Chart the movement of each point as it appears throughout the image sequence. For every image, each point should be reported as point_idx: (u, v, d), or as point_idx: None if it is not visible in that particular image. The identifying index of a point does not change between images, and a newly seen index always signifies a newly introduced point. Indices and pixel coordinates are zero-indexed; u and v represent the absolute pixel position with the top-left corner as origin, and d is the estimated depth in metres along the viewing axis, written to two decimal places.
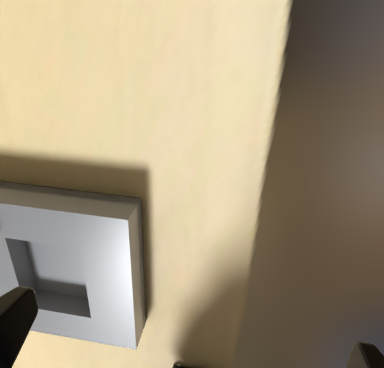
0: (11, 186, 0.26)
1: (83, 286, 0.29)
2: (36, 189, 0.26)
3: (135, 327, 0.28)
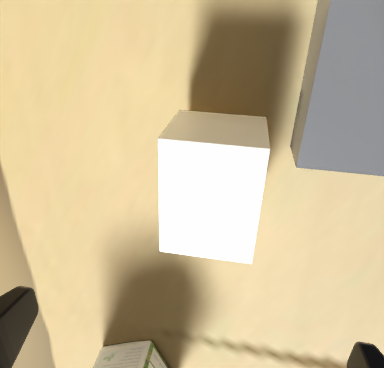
0: None
1: None
2: None
3: None
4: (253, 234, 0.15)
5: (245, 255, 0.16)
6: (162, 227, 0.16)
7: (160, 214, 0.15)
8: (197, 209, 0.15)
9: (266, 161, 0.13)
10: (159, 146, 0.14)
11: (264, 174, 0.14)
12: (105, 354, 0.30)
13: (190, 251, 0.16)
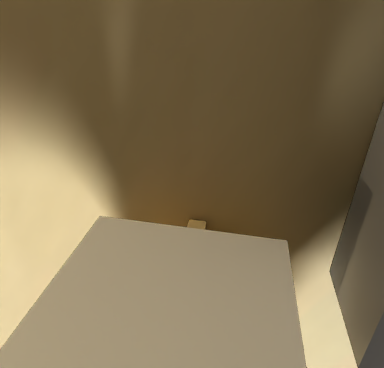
0: None
1: None
2: None
3: None
4: None
5: None
6: None
7: None
8: None
9: None
10: None
11: None
12: None
13: None
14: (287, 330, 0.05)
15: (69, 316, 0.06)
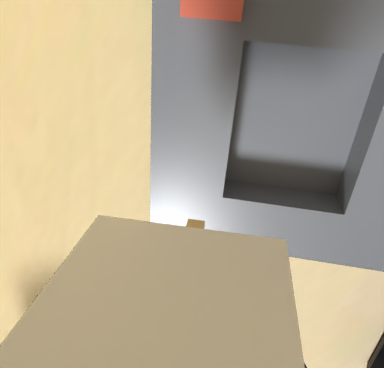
0: None
1: (314, 169, 0.18)
2: None
3: None
4: None
5: None
6: None
7: None
8: None
9: None
10: None
11: None
12: None
13: None
14: (285, 329, 0.05)
15: (67, 315, 0.06)
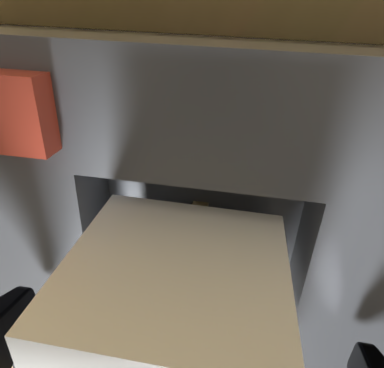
0: (86, 30, 0.09)
1: None
2: (163, 34, 0.09)
3: None
4: None
5: None
6: None
7: None
8: None
9: None
10: (12, 351, 0.05)
11: None
12: None
13: None
14: (281, 285, 0.06)
15: (91, 273, 0.06)
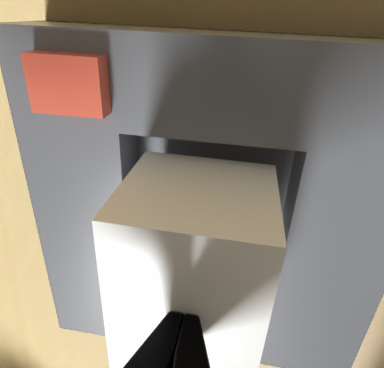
0: (126, 25, 0.12)
1: None
2: (185, 28, 0.11)
3: (361, 335, 0.14)
4: (254, 364, 0.09)
5: None
6: (111, 343, 0.10)
7: (106, 326, 0.10)
8: None
9: (279, 266, 0.08)
10: (95, 233, 0.08)
11: (275, 285, 0.08)
12: None
13: None
14: (272, 201, 0.09)
15: (140, 193, 0.09)
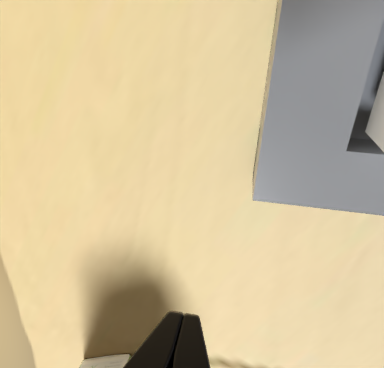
0: None
1: None
2: None
3: None
4: None
5: None
6: None
7: None
8: None
9: None
10: None
11: None
12: (85, 367, 0.31)
13: None
14: None
15: None
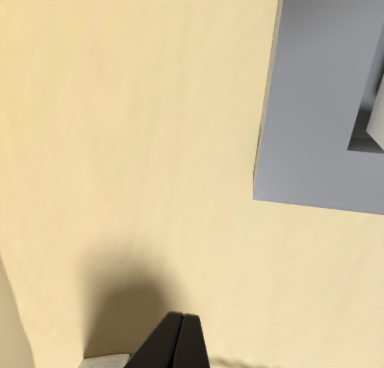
0: None
1: None
2: None
3: None
4: None
5: None
6: None
7: None
8: None
9: None
10: None
11: None
12: (84, 367, 0.30)
13: None
14: None
15: None
